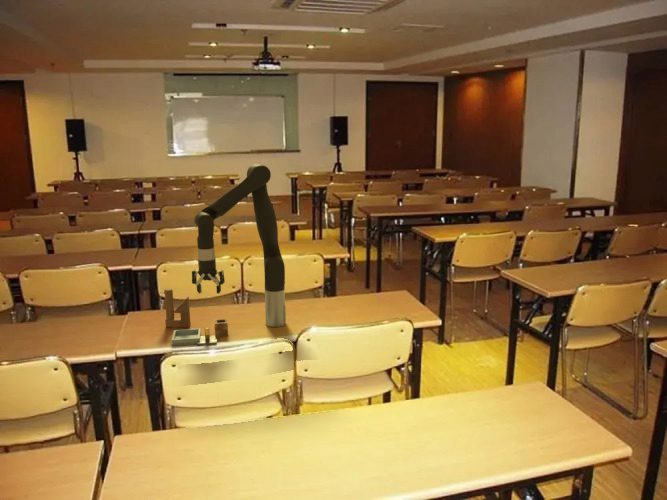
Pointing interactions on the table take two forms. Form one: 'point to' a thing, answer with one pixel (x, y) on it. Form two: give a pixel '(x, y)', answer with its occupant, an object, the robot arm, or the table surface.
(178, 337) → the tray
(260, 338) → the table surface
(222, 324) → the bored block
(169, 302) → the brown upright angular piece
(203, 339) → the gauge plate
